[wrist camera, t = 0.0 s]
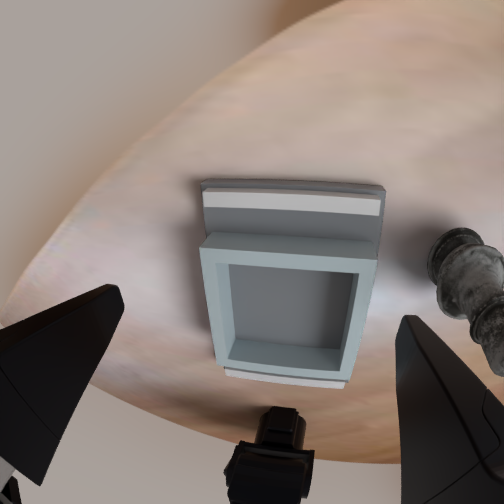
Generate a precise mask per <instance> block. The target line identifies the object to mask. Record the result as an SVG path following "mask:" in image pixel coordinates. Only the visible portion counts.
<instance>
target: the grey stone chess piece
mask: <svg viewBox="0 0 504 504" xmlns="http://www.w3.org/2000/svg"><path fill="white" fill-rule="evenodd" d="M427 266H428V273H429V276H430V278H431V280H432V281H433V282H434V283H435V285H437V291H436V293H437V302H438V305H439V307H440V309H441V310H442V311H443V313H444V314H445V315H447V316H449V317H451V318H453V319H459V320H462V319H468V321H469V323H470V336H471V338H472V340H473V341H474V342H475V343H477V344H481V346H482V349H483V351H484V353H485V356H486V358H487V361H488V363H489V366H490V368H491V370H492V371H493V372H494V374H496V375H498V376H501V377H504V291H503V289H504V257H503V256H502V254H501V253H500V252H499V251H498V250H497V249H495V248H493V247H491V246H488V245H484V242H483V240H482V239H481V237H480V236H479V235H478V234H477V233H476V232H475V231H473V230H471V229H468V228H457V229H454V230H451V231H449V232H447V233H446V234H444V235H443V236H442V237H441V238H440V239H438V240H437V242H436V243H435V245H434V246H433V247H432V249H431V252H430V254H429V257H428V264H427Z"/></svg>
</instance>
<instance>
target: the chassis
mask: <svg viewBox="0 0 504 504" xmlns="http://www.w3.org/2000/svg"><path fill="white" fill-rule="evenodd" d="M201 193H202V203H203V213H204V222H205V232H206V240H205V241H204V242H203V243H202V245H201V246H200V247H199V251H200V259H201V266H202V273H203V280H204V287H205V294H206V301H207V307H208V314H209V320H210V326H211V332H212V338H213V344H214V350H215V355H216V361H217V365H220V366H224V369H225V373H226V376H232V377H238V378H245V379H251V380H258V381H266V382H274V383H282V384H291V385H301V386H312V387H324V388H340V389H343V388H344V385H345V383H348V381H349V380H350V377H351V374H352V370H353V367H354V363H355V360H356V356H357V352H358V349H359V345H360V341H361V337H362V333H363V329H364V325H365V321H366V316H367V312H368V307H369V303H370V298H371V293H372V288H373V283H374V278H375V273H376V267H377V262H378V259H377V256H378V249H379V243H380V236H381V229H382V222H383V214H384V206H385V197H386V191H385V189H384V188H383V186H374V185H362V184H349V183H334V182H317V181H296V180H265V179H206V180H205V181H204V182H202V183H201Z"/></svg>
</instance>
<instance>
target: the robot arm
mask: <svg viewBox="0 0 504 504" xmlns="http://www.w3.org/2000/svg"><path fill="white" fill-rule="evenodd" d="M123 312H124V302H123V299H122V296H121V293H120V289H119V287H118V286H116V285H113V284H105V285H103V286H100V287H98V288H96V289H93V290H91V291H88V292H86V293H84V294H81V295H79V296H77V297H74V298H72V299H70V300H67V301H65V302H63V303H60V304H58V305H56V306H53V307H51V308H49V309H47V310H44V311H42V312H40V313H37V314H35V315H33V316H31V317H28V318H26V319H24V320H22V321H19V322H17V323H15V324H12V325H10V326H8V327H6V328H3V329H1V330H0V504H22V503H21V498H20V493H19V488H18V481H17V479H16V478H15V477H13V476H12V474H13V472H14V471H15V469H16V470H18V471H19V472H20V473H22V474H23V475H25V476H26V477H27V478H28V479H30V480H31V481H32V482H34V483H35V484H37V485H38V486H41V484H42V482H43V480H44V477H45V475H46V472H47V470H48V467H49V465H50V463H51V461H52V458H53V456H54V454H55V451H56V449H57V447H58V445H59V442H60V440H61V438H62V435H63V433H64V431H65V429H66V427H67V425H68V423H69V421H70V418H71V417H72V414H73V412H74V410H75V408H76V406H77V404H78V402H79V400H80V398H81V396H82V394H83V392H84V390H85V389H86V387H87V385H88V383H89V381H90V379H91V377H92V375H93V373H94V371H95V370H96V368H97V366H98V364H99V362H100V360H101V359H102V357H103V355H104V353H105V351H106V349H107V347H108V345H109V343H110V341H111V339H112V337H113V334H114V332H115V330H116V328H117V325H118V323H119V321H120V319H121V316H122V314H123ZM395 351H396V395H397V405H398V416H399V429H400V446H401V486H402V487H401V504H504V405H503V404H502V403H501V402H500V401H499V400H498V399H497V398H496V397H495V396H494V394H493V393H492V392H491V391H490V390H489V389H487V387H486V386H485V385H484V384H483V382H482V381H481V380H480V379H479V378H478V377H477V376H476V375H475V374H474V373H473V372H472V371H471V369H470V368H469V367H468V366H467V365H466V364H465V363H464V362H463V361H462V360H461V359H460V358H459V357H458V356H457V355H456V354H455V353H454V352H453V351H452V350H451V349H450V348H449V347H448V346H447V344H446V343H445V342H444V341H443V340H442V339H441V338H440V337H439V336H438V335H437V334H436V333H435V332H434V331H433V330H432V329H431V328H430V327H428V326H427V325H426V324H425V323H424V322H423V321H422V320H421V319H420V318H419V317H418V316H416V315H405V316H403V318H402V320H401V323H400V326H399V329H398V332H397V336H396V340H395ZM298 414H299V412H297V411H296V409H294V408H285V407H277V406H273V407H272V409H270V411H269V412H268V413H265V414H264V415H262V417H261V419H260V423H259V427H258V431H257V434H256V438H255V442H254V443H249V442H245V441H242V440H240V442H239V445H236V447H235V450H234V453H233V456H232V458H231V460H230V461H229V463H228V465H227V466H226V468H225V469H224V475H225V476H226V486H227V487H229V489H228V493H227V494H228V498H229V501H230V504H300V502H301V498H307V496H308V493H309V490H310V485H311V479H312V471H313V462H314V452H315V450H302V449H303V443H304V436H305V430H306V421H305V420H304V419H303V418H302V417H301V416H299V415H298Z"/></svg>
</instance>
